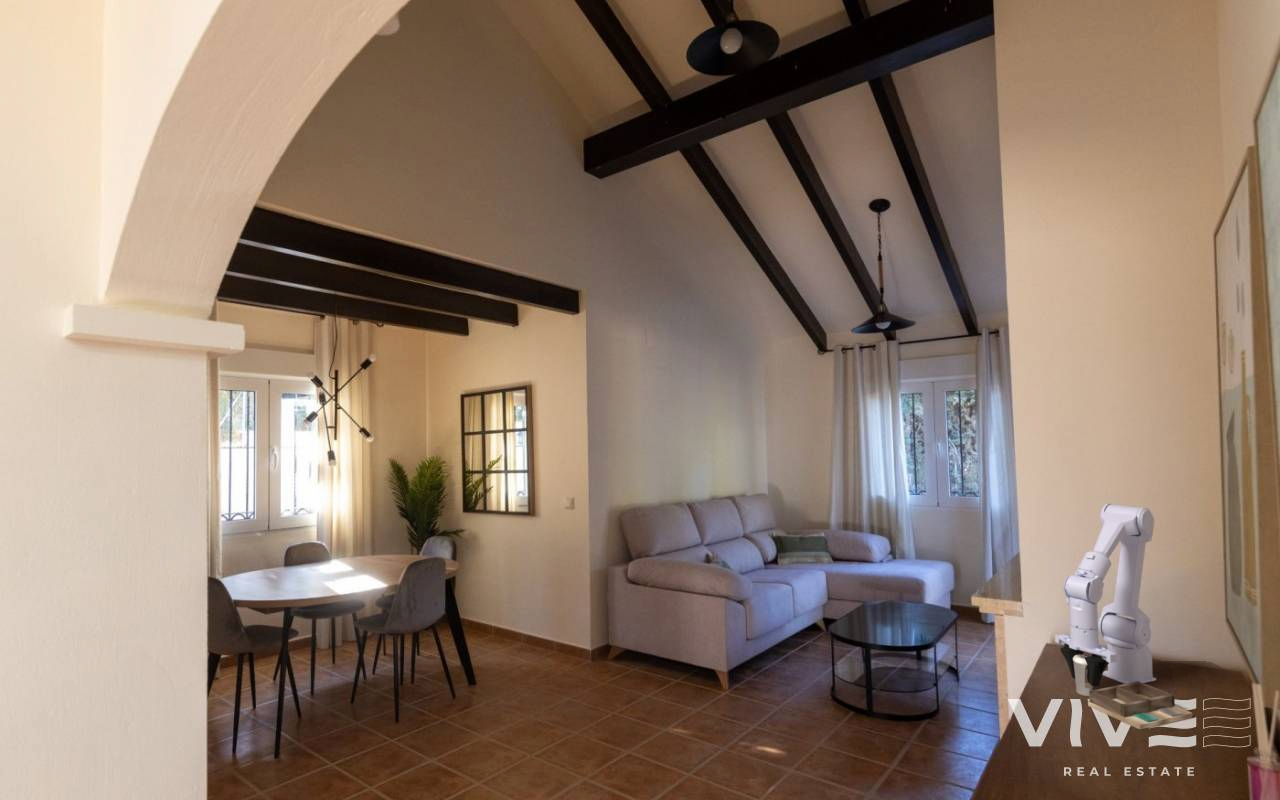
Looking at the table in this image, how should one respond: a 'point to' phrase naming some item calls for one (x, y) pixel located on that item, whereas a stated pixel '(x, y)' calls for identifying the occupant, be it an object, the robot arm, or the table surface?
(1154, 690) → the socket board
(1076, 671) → the milkshake
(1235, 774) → the table surface
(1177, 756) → the table surface
